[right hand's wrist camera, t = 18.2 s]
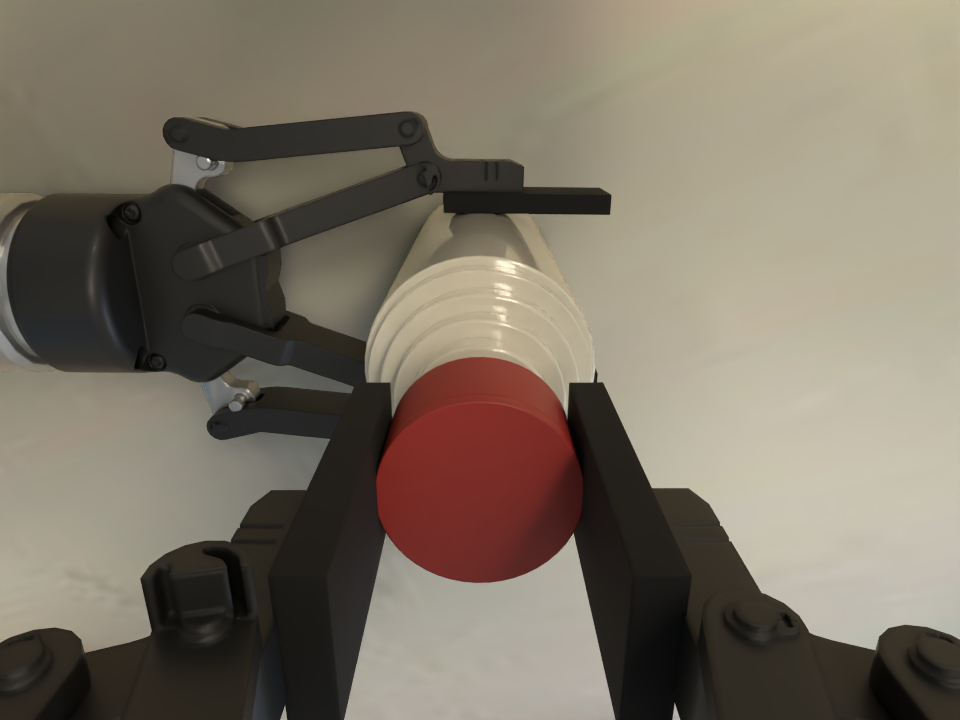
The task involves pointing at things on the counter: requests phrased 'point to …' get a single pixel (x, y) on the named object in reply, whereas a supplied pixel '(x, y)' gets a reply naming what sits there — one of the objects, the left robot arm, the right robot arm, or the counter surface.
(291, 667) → the right robot arm
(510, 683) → the counter surface
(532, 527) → the cap
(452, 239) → the bottle
